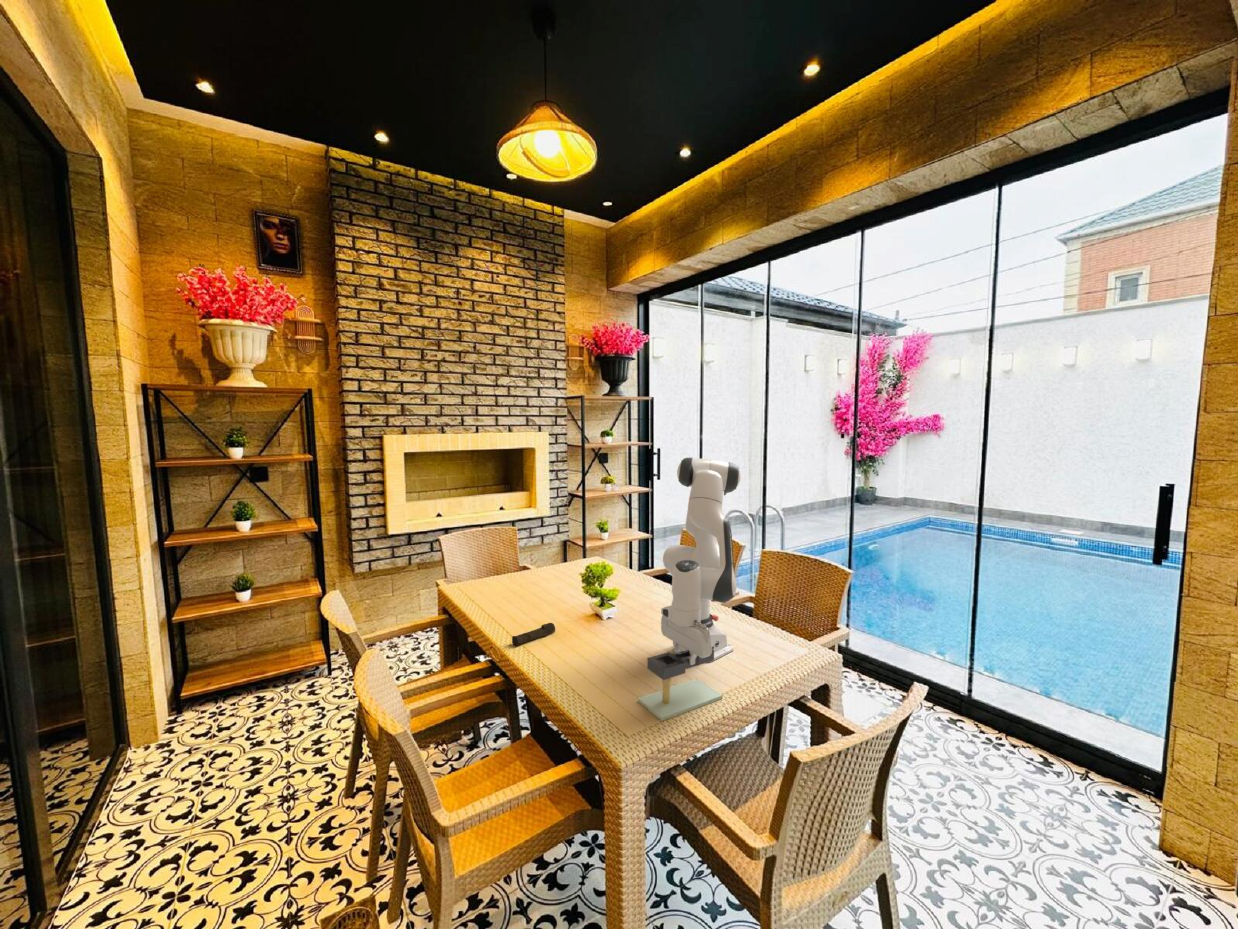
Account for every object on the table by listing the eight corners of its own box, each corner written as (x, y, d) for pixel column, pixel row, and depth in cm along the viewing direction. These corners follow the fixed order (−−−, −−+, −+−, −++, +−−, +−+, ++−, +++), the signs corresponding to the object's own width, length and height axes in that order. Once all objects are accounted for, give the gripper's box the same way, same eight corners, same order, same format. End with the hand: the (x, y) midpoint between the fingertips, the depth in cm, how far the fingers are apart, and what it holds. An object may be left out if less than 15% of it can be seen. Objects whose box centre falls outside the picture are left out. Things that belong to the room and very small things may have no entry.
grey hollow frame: (663, 680, 142) (663, 669, 142) (647, 668, 149) (647, 658, 148) (717, 662, 153) (718, 652, 153) (700, 652, 160) (700, 643, 159)
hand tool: (516, 648, 186) (516, 636, 185) (511, 644, 189) (511, 633, 188) (558, 635, 198) (558, 623, 198) (553, 631, 201) (553, 620, 201)
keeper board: (696, 681, 162) (697, 655, 162) (722, 698, 152) (723, 670, 151) (638, 701, 150) (638, 672, 150) (661, 721, 140) (662, 690, 139)
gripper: (717, 625, 143) (716, 671, 144) (673, 603, 160) (672, 645, 161) (700, 629, 140) (699, 677, 141) (657, 607, 157) (657, 649, 158)
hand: (685, 660), depth 151 cm, fingers closed on grey hollow frame, 4 cm apart
